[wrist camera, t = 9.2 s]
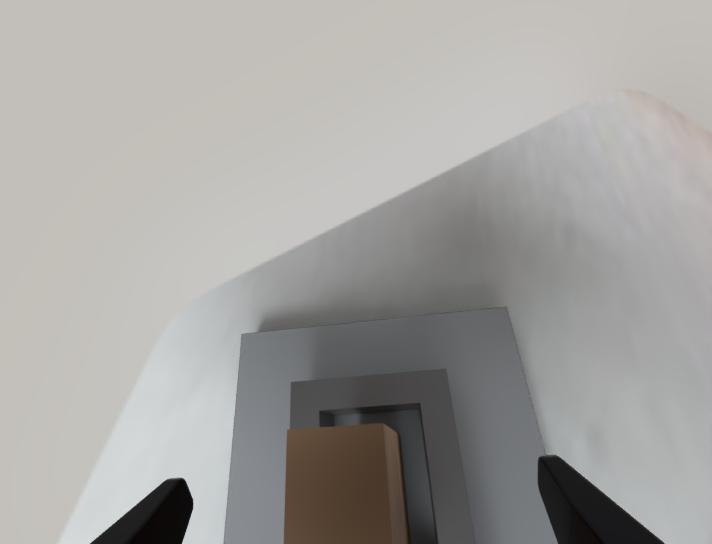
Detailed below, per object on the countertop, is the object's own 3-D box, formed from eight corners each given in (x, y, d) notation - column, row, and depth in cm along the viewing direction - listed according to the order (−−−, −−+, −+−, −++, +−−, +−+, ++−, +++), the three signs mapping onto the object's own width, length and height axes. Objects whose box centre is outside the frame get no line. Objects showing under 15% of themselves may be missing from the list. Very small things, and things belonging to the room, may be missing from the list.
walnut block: (414, 575, 14) (415, 813, 5) (363, 576, 14) (275, 806, 5) (399, 434, 16) (382, 422, 7) (356, 437, 16) (287, 429, 7)
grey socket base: (612, 761, 12) (710, 918, 8) (223, 751, 14) (143, 880, 10) (500, 316, 19) (523, 282, 15) (252, 341, 21) (214, 316, 17)
